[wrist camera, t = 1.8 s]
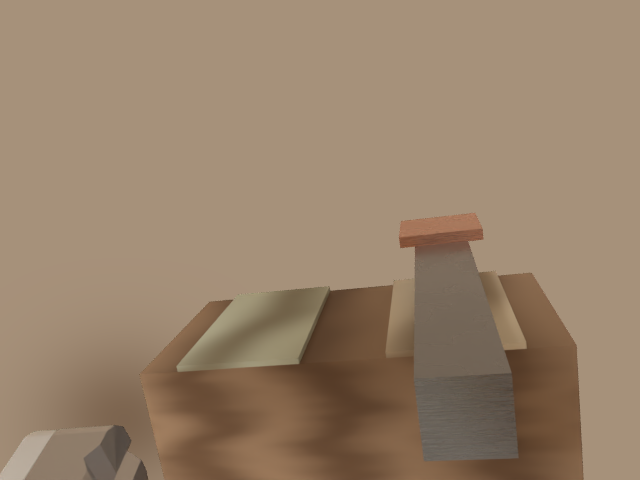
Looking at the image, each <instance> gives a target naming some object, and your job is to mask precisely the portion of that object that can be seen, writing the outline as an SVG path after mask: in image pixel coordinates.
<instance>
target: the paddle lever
mask: <svg viewBox="0 0 640 480" xmlns="http://www.w3.org/2000/svg"><path fill="white" fill-rule="evenodd" d="M482 239H483V230H482V227H481V225H480V222H479V220H478V218H477V216H476V214H475V213H470V214H461V215H452V216H444V217H435V218H425V219H416V220H408V221H401V226H400V234H399V241H400V248H405V247H415V307H414V385H415V393H416V401H417V409H418V417H419V426H420V434H421V442H422V450H423V458H424V461H450V460H481V459H512V458H519V457H518V444H517V432H516V419H515V407H514V394H513V382H512V372H511V369H510V366H509V363H508V360H507V357H506V354H505V351H504V348H503V345H502V342H501V339H500V336H499V333H498V330H497V327H496V324H495V321H494V318H493V315H492V312H491V309H490V306H489V303H488V300H487V297H486V294H485V291H484V288H483V285H482V282H481V279H480V276H479V273H478V270H477V267H476V264H475V261H474V258H473V255H472V252H471V249H470V246H469V243H468V241H474V240H482Z"/></svg>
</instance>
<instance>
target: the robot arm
mask: <svg viewBox="0 0 640 480" xmlns="http://www.w3.org/2000/svg"><path fill="white" fill-rule="evenodd" d="M130 443H131V439H130V437H129V436H128V434H127V432H126V431H125V429H124V427H122V426H116V425H111V426H95V427H81V428H66V429H60V430H46V431H34V432H33V433H31V434H29V435H28V436H26V437H25V438H24V439H23V441H22V442H21V444H20V445H19V447H18V448H17V450H16V451H15V453H14V454H13V456H12V457H11V459H10V460H9V462H8V463H7V465H6V466H5V468H4V469H3V471H2V472H1V474H0V480H148V476H147V471H146V469H145V466H144V464H143V462H142V460H141V459H139V458H138V457H136V456H135V455H133V454H132V453H130V452H129V451H128V448H129V446H130Z"/></svg>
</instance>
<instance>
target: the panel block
mask: <svg viewBox="0 0 640 480" xmlns="http://www.w3.org/2000/svg"><path fill="white" fill-rule="evenodd" d="M479 276H480V279H481V282H482V285H483V288H484V291H485V294H486V297H487V300H488V303H489V306H490V309H491V312H492V315H493V318H494V321H495V324H496V327H497V330H498V333H499V336H500V339H501V342H502V345H503V348H504V351H505V354H506V357H507V360H508V363H509V366H510V369H511V372H512V382H513V394H514V407H515V419H516V432H517V444H518V457H519V458H512V459H481V460H450V461H424V458H423V450H422V442H421V434H420V426H419V417H418V409H417V401H416V393H415V385H414V307H415V279H405V280H394V284H393V285H390V286H379V287H368V288H357V289H346V290H335V291H330V287H329V286H328V287H318V288H306V289H295V290H285V291H274V292H263V293H252V294H241V295H237V296H236V298H235V299H234V300H224V301H213V302H209V303H208V304H207V305H206V306H205V307H204V308H203V309H202V310H201V311H200V313H198V314H197V315H196V316H195V317H194V318H193V320H191V322H190V323H189V324H188V325H187V326H186V327H185V328H184V329H183V330H182V331H181V332H180V333H179V334H178V335H177V336H176V337H175V338H174V339H173V340H172V341H171V342H170V343H169V344H168V345H167V346H166V347H165V348H164V350H163V351H162V352H161V353H160V354H159V355H158V356H157V357H156V358H155V359H154V360H153V361H152V362H151V363H150V364H149V365H148V366H147V367H146V368H145V369H144V370H143V371H142V372H141V373H140V374H139V375H140V379H141V384H142V388H143V391H144V396H145V400H146V404H147V408H148V413H149V416H150V421H151V425H152V429H153V433H154V437H155V441H156V446H157V450H158V454H159V458H160V462H161V466H162V471H163V475H164V479H165V480H583V464H582V463H583V461H582V442H581V422H580V404H579V385H578V366H577V365H578V364H577V347H576V344H575V342H574V340H573V339H572V337H571V336H570V334H569V332H568V331H567V329H566V328H565V326H564V324H563V323H562V321H561V319H560V318H559V316H558V315H557V313H556V311H555V310H554V308H553V307H552V305H551V303H550V302H549V300H548V299H547V297H546V295H545V294H544V293H543V290H542V289H541V287H540V286H539V284H538V283H537V281H536V279H535V277H534V276H533V274H532V273H523V274H512V275H501V276H498V275H497V273H496V271H491V272H482V273H479Z"/></svg>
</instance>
